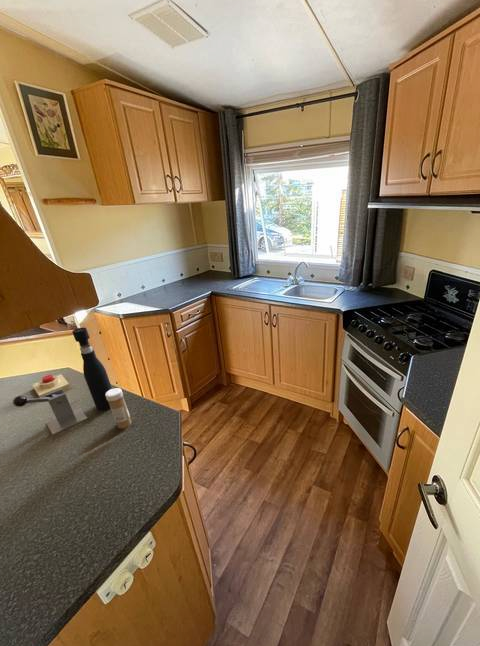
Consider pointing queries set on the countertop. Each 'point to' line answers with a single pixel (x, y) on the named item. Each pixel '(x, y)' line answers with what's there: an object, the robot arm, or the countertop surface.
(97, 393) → the dark water bottle
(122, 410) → the sprinkles bottle
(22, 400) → the lever handle
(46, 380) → the button
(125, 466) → the countertop surface
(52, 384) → the control block
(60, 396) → the grey lever stand
